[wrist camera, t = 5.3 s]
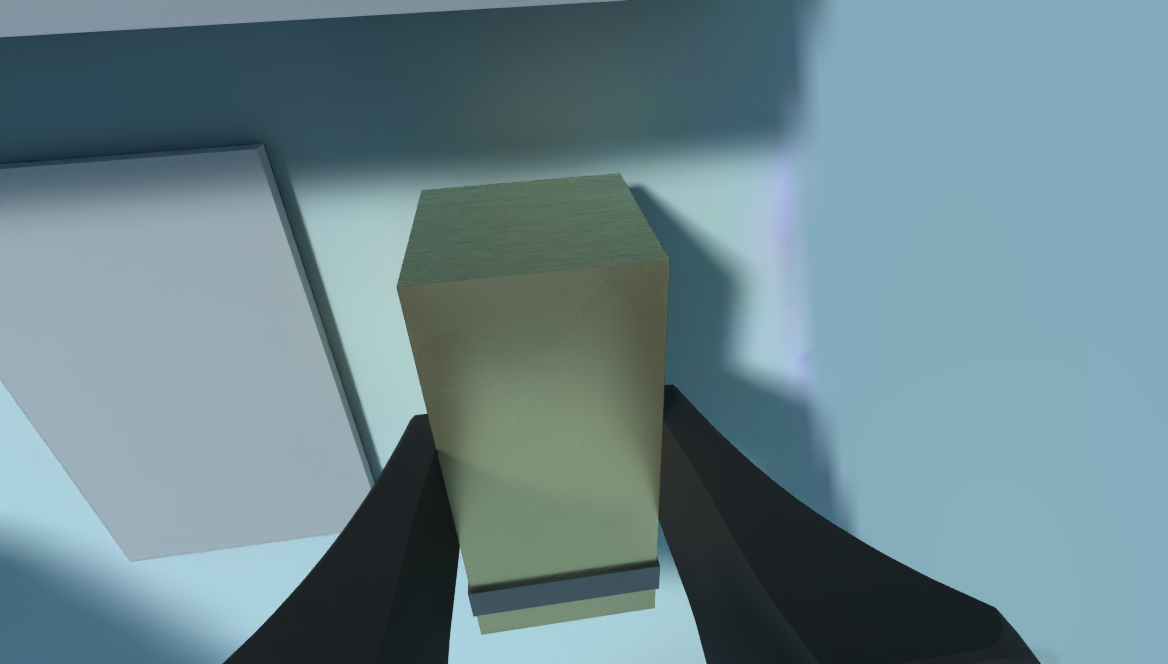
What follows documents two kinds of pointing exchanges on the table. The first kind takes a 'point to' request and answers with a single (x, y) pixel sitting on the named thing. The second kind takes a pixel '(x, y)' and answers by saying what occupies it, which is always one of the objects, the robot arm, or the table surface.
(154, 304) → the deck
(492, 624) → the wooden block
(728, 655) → the robot arm
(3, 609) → the table surface
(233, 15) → the socket bank
